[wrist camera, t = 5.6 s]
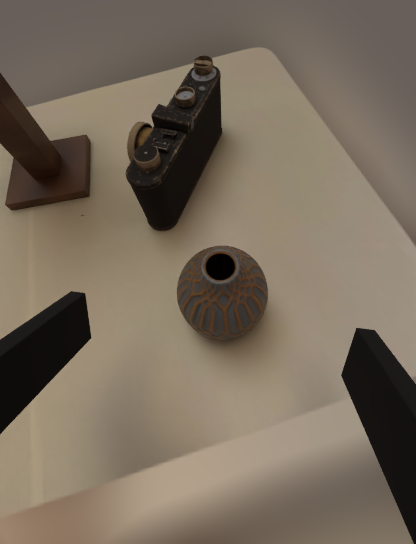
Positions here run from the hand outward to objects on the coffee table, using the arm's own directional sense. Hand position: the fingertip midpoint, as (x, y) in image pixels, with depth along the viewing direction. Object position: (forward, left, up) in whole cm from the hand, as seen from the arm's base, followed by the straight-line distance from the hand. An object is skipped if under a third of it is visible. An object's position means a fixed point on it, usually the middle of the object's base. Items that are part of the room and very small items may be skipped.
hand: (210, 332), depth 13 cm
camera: (-1, +21, -10) cm, 23 cm away
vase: (+1, +4, -10) cm, 11 cm away
